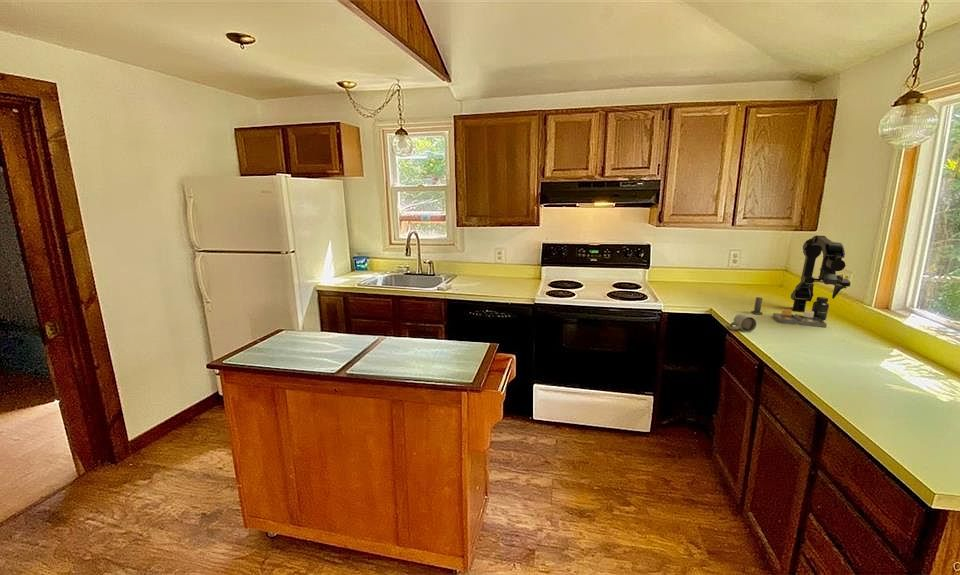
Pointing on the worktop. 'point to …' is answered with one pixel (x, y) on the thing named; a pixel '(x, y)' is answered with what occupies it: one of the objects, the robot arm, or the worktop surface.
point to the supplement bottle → (820, 308)
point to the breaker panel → (799, 320)
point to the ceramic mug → (743, 323)
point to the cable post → (757, 306)
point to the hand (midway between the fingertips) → (821, 297)
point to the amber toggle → (786, 312)
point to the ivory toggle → (808, 314)
